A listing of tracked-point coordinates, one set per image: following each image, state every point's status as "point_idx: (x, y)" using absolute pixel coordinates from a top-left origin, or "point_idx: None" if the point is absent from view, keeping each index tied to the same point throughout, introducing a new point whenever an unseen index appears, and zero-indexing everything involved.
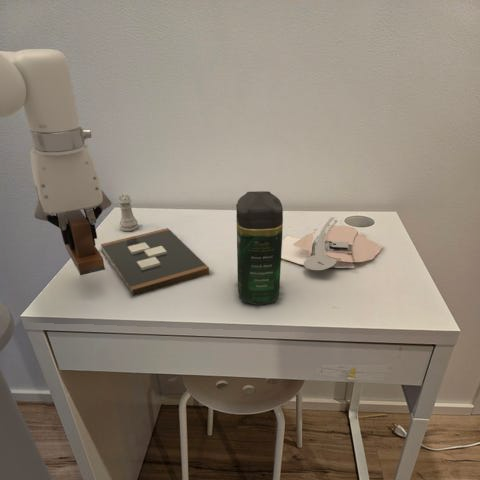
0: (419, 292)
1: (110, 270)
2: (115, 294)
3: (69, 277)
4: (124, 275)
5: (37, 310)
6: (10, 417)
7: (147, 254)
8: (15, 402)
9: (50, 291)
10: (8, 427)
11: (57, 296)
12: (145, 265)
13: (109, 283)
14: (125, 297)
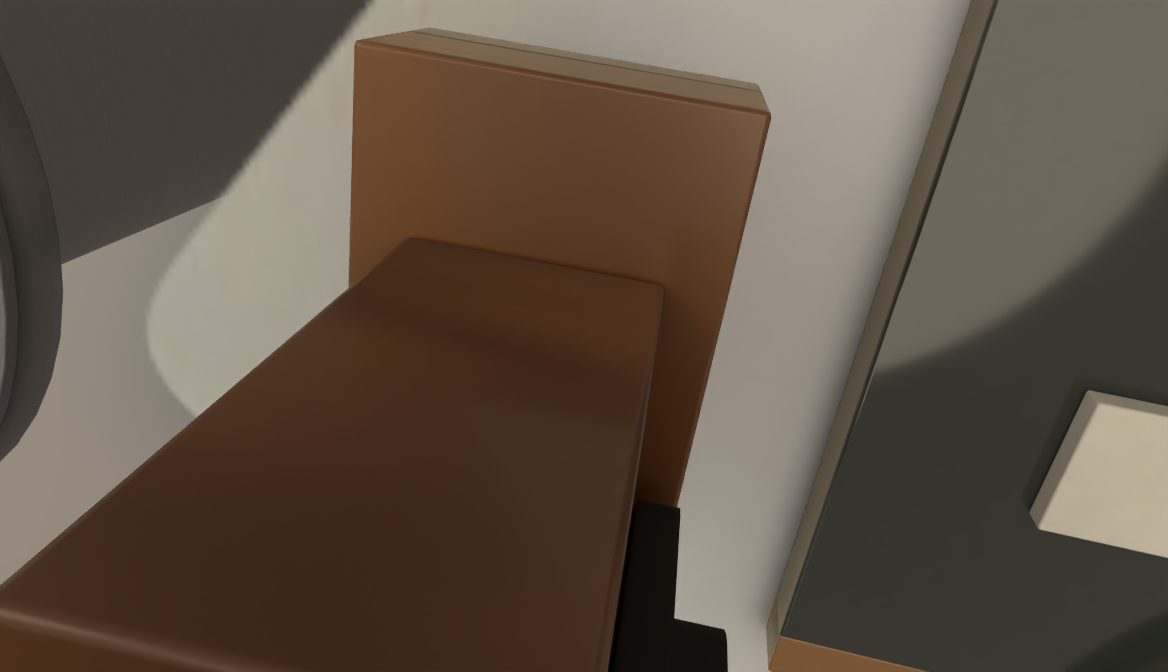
0: None
1: (864, 166)
2: (683, 524)
3: (487, 16)
4: (851, 479)
5: (171, 335)
6: (222, 184)
7: None
8: (245, 114)
9: (287, 148)
10: (222, 193)
11: (321, 261)
12: (1096, 525)
13: (728, 367)
14: (717, 597)
